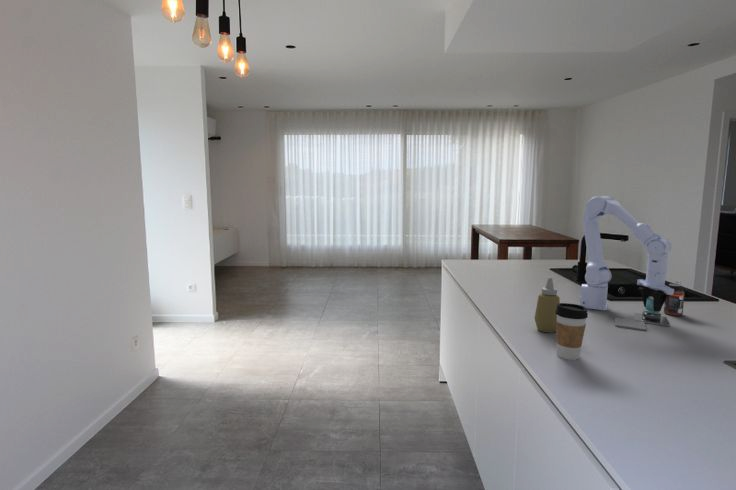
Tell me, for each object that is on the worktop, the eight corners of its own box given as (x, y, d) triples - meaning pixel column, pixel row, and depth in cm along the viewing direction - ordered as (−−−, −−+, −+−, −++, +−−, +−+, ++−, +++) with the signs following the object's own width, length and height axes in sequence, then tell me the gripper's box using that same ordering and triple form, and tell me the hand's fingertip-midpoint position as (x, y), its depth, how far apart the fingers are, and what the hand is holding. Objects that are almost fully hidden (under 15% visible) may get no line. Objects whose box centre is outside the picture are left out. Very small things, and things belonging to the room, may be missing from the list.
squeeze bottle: (558, 327, 147) (562, 276, 145) (560, 335, 140) (564, 281, 137) (533, 324, 150) (536, 274, 147) (534, 332, 142) (537, 279, 140)
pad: (615, 326, 149) (615, 324, 148) (614, 319, 156) (615, 317, 156) (646, 331, 144) (646, 329, 144) (644, 323, 152) (644, 321, 152)
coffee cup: (546, 350, 127) (550, 301, 125) (573, 349, 128) (577, 301, 126) (561, 362, 119) (565, 310, 117) (590, 361, 120) (595, 309, 118)
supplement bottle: (685, 316, 159) (688, 286, 158) (667, 315, 161) (669, 286, 159) (678, 311, 165) (681, 283, 163) (661, 310, 167) (663, 282, 165)
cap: (640, 309, 157) (642, 296, 156) (652, 309, 158) (654, 295, 157) (651, 313, 152) (652, 299, 152) (663, 313, 153) (664, 299, 152)
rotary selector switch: (635, 321, 154) (636, 313, 153) (634, 314, 162) (634, 306, 162) (669, 326, 149) (670, 318, 148) (665, 318, 158) (666, 310, 157)
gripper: (631, 268, 160) (627, 303, 162) (662, 276, 145) (657, 315, 147) (648, 267, 160) (644, 302, 163) (681, 276, 146) (676, 314, 148)
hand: (652, 308), depth 155 cm, fingers closed on cap, 4 cm apart
